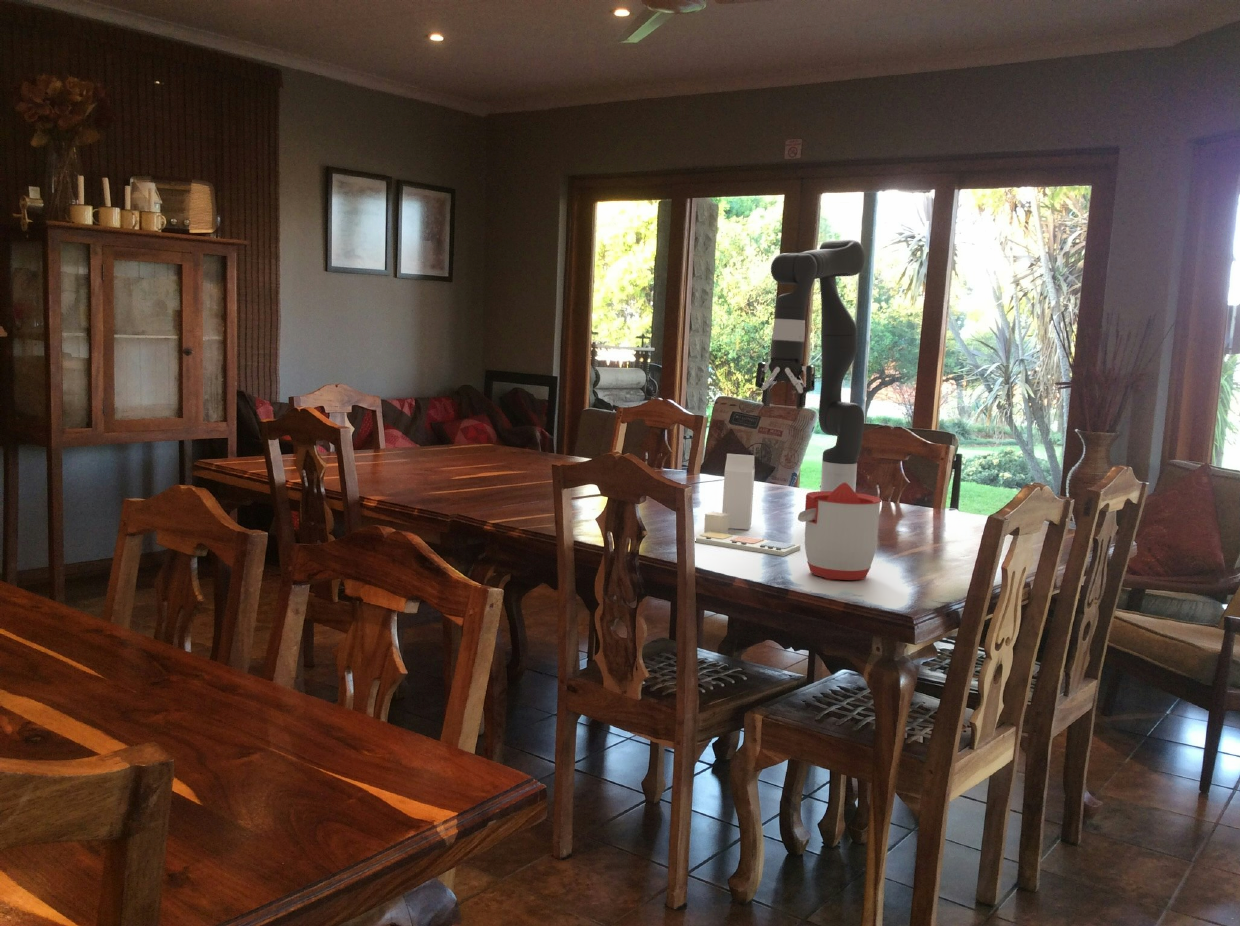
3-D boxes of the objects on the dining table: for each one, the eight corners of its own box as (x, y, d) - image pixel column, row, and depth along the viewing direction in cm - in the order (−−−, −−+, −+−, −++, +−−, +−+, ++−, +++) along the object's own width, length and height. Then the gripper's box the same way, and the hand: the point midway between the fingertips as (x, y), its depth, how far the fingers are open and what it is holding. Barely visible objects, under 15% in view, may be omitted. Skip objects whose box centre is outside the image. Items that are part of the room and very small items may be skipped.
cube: (712, 531, 272) (713, 511, 271) (728, 533, 270) (729, 514, 269) (704, 533, 268) (705, 513, 267) (720, 536, 266) (721, 516, 265)
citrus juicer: (782, 567, 233) (788, 476, 230) (855, 566, 237) (862, 477, 234) (810, 584, 218) (817, 487, 215) (888, 583, 222) (896, 488, 219)
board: (709, 535, 265) (709, 530, 265) (800, 549, 253) (800, 544, 253) (690, 541, 257) (690, 535, 257) (783, 556, 245) (784, 550, 245)
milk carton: (748, 530, 275) (753, 457, 273) (721, 528, 276) (725, 455, 274) (751, 525, 282) (755, 454, 280) (724, 523, 283) (728, 452, 281)
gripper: (822, 341, 252) (816, 410, 254) (767, 338, 260) (762, 405, 262) (810, 340, 246) (804, 410, 248) (754, 337, 253) (748, 405, 255)
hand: (782, 407), depth 255 cm, fingers open, 8 cm apart
